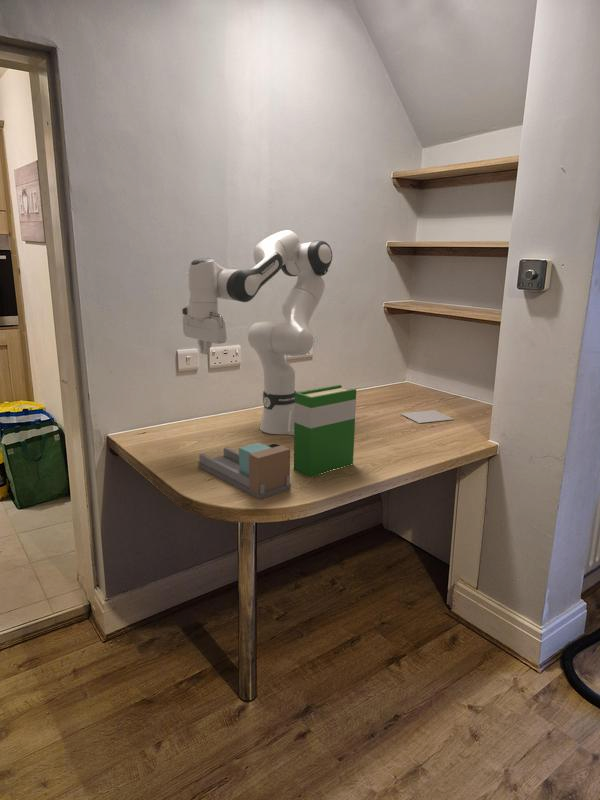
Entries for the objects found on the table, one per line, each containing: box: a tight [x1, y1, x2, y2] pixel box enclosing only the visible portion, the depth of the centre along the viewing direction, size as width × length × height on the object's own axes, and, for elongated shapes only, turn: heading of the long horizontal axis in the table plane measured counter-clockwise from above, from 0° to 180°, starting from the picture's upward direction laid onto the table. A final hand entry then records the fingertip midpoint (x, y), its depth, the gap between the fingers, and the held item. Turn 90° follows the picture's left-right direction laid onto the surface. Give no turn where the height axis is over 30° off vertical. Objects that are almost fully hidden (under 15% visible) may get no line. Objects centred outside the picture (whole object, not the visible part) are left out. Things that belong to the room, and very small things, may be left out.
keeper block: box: [238, 442, 271, 476], centre depth 160 cm, size 7×7×9 cm
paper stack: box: [399, 409, 454, 424], centre depth 225 cm, size 23×25×1 cm
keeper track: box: [197, 445, 292, 500], centre depth 165 cm, size 11×30×12 cm, turn 42°
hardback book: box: [293, 384, 357, 478], centre depth 172 cm, size 18×7×24 cm, turn 129°
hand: (205, 353), depth 186 cm, fingers closed
